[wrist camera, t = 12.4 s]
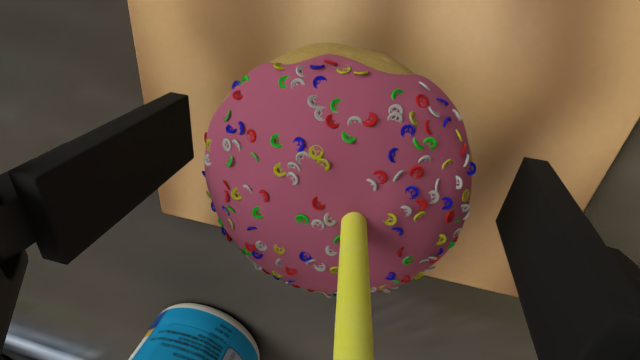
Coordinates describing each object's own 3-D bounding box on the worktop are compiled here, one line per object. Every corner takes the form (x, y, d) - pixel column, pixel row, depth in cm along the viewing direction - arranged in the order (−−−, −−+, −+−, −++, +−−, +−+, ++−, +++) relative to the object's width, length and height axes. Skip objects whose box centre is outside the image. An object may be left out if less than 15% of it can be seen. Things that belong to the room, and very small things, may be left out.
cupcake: (428, -15, 12) (484, 59, 2) (479, 193, 15) (594, 613, 5) (225, 71, 15) (-143, 264, 5) (303, 228, 19) (168, 532, 9)
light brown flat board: (167, 207, 21) (161, 212, 21) (123, -89, 14) (111, -92, 13) (526, 291, 18) (530, 300, 18) (711, -27, 11) (726, -27, 10)
